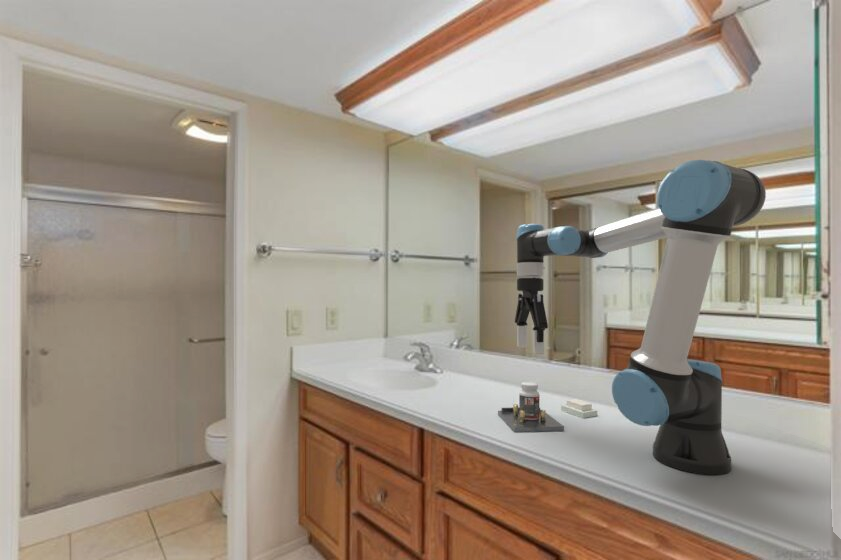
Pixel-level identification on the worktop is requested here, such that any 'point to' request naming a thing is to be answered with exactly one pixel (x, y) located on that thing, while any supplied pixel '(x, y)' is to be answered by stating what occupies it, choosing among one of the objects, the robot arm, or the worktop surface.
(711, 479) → the worktop surface
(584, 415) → the soap dish
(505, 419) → the plate
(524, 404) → the pill bottle
